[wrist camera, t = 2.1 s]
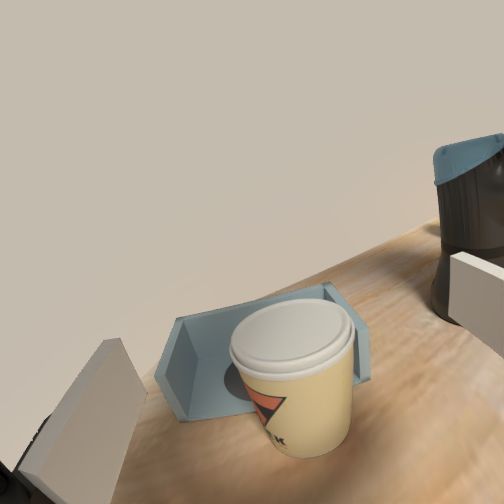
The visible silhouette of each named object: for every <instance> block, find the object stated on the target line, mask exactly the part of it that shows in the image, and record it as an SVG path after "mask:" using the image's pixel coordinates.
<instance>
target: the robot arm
mask: <svg viewBox="0 0 504 504" xmlns="http://www.w3.org/2000/svg"><path fill="white" fill-rule="evenodd" d="M433 164H434V172H435V181H434V184H435V185H436V186H437V194H438V202H439V203H438V204H439V215H440V230H441V256H440V260H439V264H438V268H437V272H436V276H435V279H434V280H433V283H432V286H431V306H432V308H433V310H434V311H435V312H436V313H437V314H438V315H439V316H440V317H442V318H443V319H445V320H447V321H449V322H452V323H454V324H458V325H461V326H463V327H464V328H465V329H467V330H468V331H469V332H471V333H472V334H473V335H475V336H476V337H477V338H479V339H480V340H481V341H482V342H484V343H485V344H486V345H488V346H489V347H490V348H491V349H493V350H494V351H495V352H496V353H498V354H499V355H500V356H501V357H503V358H504V134H502V133H500V134H495V135H490V136H486V137H480V138H476V139H471V140H467V141H462V142H458V143H454V144H450V145H446V146H442V147H440V148H438V149H437V150H436V151H435V153H434V156H433ZM147 394H148V393H147V391H146V389H145V388H144V386H143V384H142V382H141V380H140V378H139V376H138V375H137V372H136V370H135V369H134V366H133V365H132V362H131V360H130V358H129V356H128V354H127V352H126V350H125V348H124V346H123V344H122V341H121V339H120V338H115V339H109V340H104V341H103V342H102V343H101V345H100V346H99V347H98V349H97V350H96V352H95V353H94V354H93V356H92V357H91V358H90V360H89V361H88V362H87V364H86V365H85V367H84V368H83V369H82V371H81V372H80V374H79V375H78V377H77V378H76V379H75V381H74V382H73V384H72V385H71V386H70V388H69V389H68V391H67V392H66V394H65V395H64V397H63V398H62V400H61V401H60V403H59V404H58V406H57V407H56V409H55V410H54V412H53V413H52V414H51V415H49V416H48V417H47V418H46V419H45V420H44V422H43V423H42V425H41V426H40V428H39V429H38V433H36V434H35V436H34V437H33V441H31V442H30V444H29V445H28V447H27V448H26V450H25V452H24V453H23V455H22V457H21V458H20V460H19V462H18V463H17V465H16V467H15V469H14V470H13V472H12V473H11V472H10V471H9V470H8V469H7V468H6V467H5V465H4V464H3V463H2V462H1V461H0V504H110V503H111V500H112V497H113V494H114V490H115V487H116V484H117V481H118V477H119V474H120V471H121V468H122V465H123V462H124V459H125V456H126V453H127V450H128V447H129V444H130V441H131V438H132V435H133V432H134V430H135V427H136V424H137V421H138V418H139V415H140V413H141V410H142V407H143V404H144V402H145V399H146V396H147Z"/></svg>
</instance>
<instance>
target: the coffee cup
mask: <svg viewBox="0 0 504 504" xmlns="http://www.w3.org/2000/svg"><path fill="white" fill-rule="evenodd" d="M354 338H355V327H354V323H353V321H352V319H351V318H350V316H349V315H348V313H347V312H346V311H345V309H344V308H342V307H341V306H340V305H338V304H336V303H334V302H331V301H327V300H322V299H295V300H289V301H284V302H280V303H276V304H273V305H270V306H268V307H265V308H263V309H260V310H258V311H256V312H254V313H253V314H251V315H249V316H248V317H246V318H245V319H244V320H243V321H242V322H240V323H239V324H238V326H237V327H236V328H235V330H234V331H233V334H232V336H231V343H230V347H229V351H230V356H231V359H232V361H233V363H234V364H235V366H236V367H237V368H238V370H239V373H240V376H241V378H242V380H243V382H244V385H245V387H246V389H247V391H248V394H249V396H250V398H251V400H252V402H253V405H254V407H255V409H256V411H257V413H258V415H259V417H260V419H261V421H262V423H263V425H264V427H265V429H266V431H267V433H268V435H269V437H270V439H271V441H272V442H273V444H274V445H275V447H276V448H277V449H278V450H280V451H281V452H282V453H284V454H286V455H289V456H292V457H296V458H312V457H317V456H320V455H323V454H326V453H328V452H330V451H332V450H333V449H335V448H336V447H337V446H338V445H340V444H341V443H342V441H343V440H344V439H345V437H346V436H347V434H348V431H349V427H350V420H351V409H352V393H353V364H354V352H353V342H354Z"/></svg>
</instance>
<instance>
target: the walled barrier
mask: <svg viewBox="0 0 504 504" xmlns="http://www.w3.org/2000/svg"><path fill="white" fill-rule="evenodd" d="M295 299H322V300H327V301H331V302H334V303H336V304H338V305H340V306H341V307H342V308H344V309H345V311H346V312H347V313H348V315H349V316H350V318H351V319H352V321H353V323H354V327H355V338H354V342H353V352H354V364H353V386H354V385H357V384H360V383H363V382H366V381H369V380H370V341H369V327H368V326H367V325H366V323H365V322H364V321H363V320H362V319H361V317H360V316H359V315H358V314H357V313H356V312H355V310H354V309H353V308H352V307H351V306H350V304H349V303H348V302H347V301H346V300H345V299H344V297H343V296H342V295H341V294H340V293H339V292H338V290H337V289H336V288H335V287H334V286H333V285H332V283H331V282H330V281H329V282H325V283H322V284H318V285H314V286H310V287H307V288H303V289H299V290H295V291H291V292H287V293H283V294H279V295H275V296H271V297H267V298H263V299H259V300H255V301H251V302H247V303H243V304H238V305H234V306H229V307H225V308H221V309H216V310H212V311H208V312H202V313H198V314H193V315H188V316H184V317H179V318H176V321H175V323H174V326H173V328H172V331H171V333H170V336H169V338H168V341H167V344H166V346H165V349H164V352H163V354H162V357H161V359H160V362H159V365H158V367H157V370H156V373H155V375H154V377H155V379H156V381H157V383H158V385H159V387H160V389H161V391H162V393H163V394H164V396H165V398H166V400H167V402H168V403H169V405H170V407H171V409H172V410H173V412H174V414H175V416H176V417H177V419H178V421H179V422H188V421H197V420H205V419H213V418H220V417H227V416H233V415H239V414H245V413H250V412H256V409H255V407H254V405H253V402H252V400H251V398H250V396H249V394H248V391H247V389H246V387H245V385H244V382H243V380H242V378H241V376H240V373H239V370H238V368H237V367H236V366H235V364H234V363H233V361H232V359H231V356H230V351H229V347H230V343H231V336H232V334H233V331H234V330H235V328H236V327H237V326H238V324H239V323H240V322H242V321H243V320H244V319H245V318H246V317H248V316H249V315H251V314H253V313H254V312H256V311H258V310H260V309H263V308H265V307H268V306H270V305H273V304H276V303H280V302H284V301H289V300H295Z"/></svg>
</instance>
